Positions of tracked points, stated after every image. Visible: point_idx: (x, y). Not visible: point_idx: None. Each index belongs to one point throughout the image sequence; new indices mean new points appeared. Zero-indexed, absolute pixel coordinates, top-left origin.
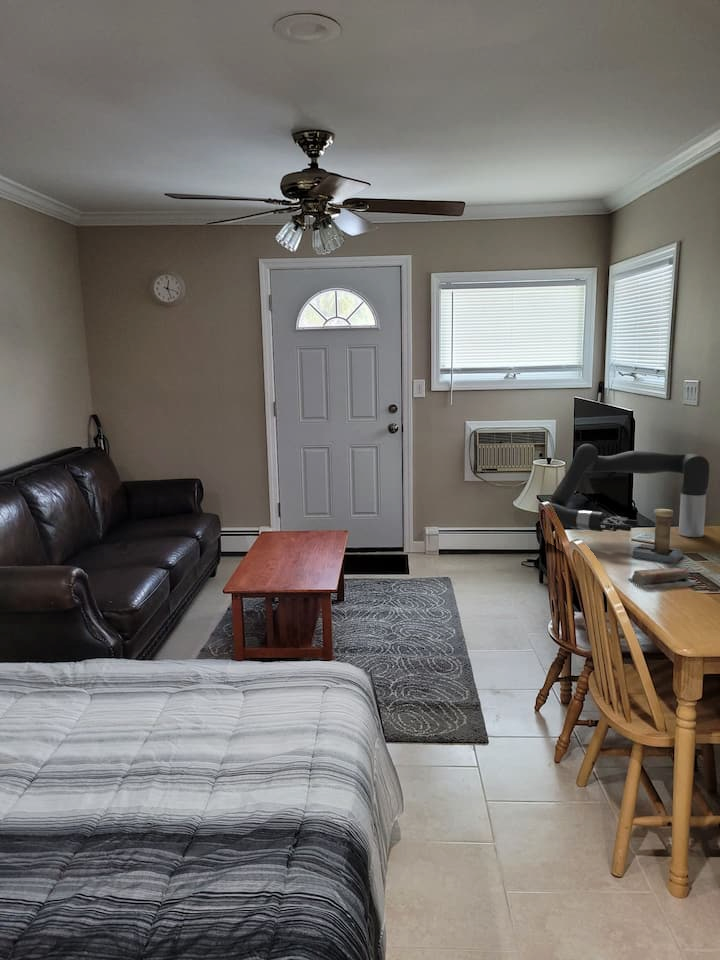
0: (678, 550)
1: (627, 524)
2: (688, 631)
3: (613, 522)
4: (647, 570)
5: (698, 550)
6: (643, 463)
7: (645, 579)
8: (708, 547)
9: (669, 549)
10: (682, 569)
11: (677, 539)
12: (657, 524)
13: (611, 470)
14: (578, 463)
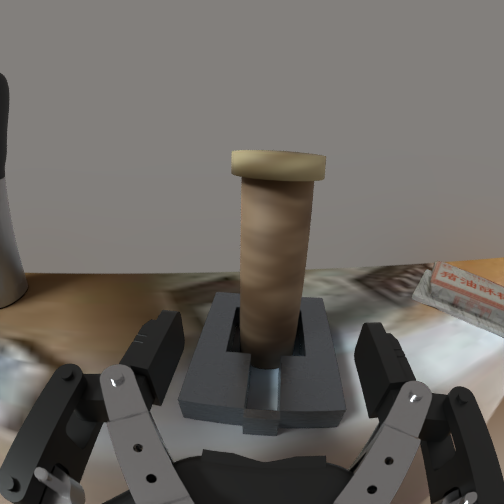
0: (234, 298)
1: (159, 399)
2: None
3: (414, 448)
4: (500, 294)
5: (139, 288)
6: None
7: None
8: (108, 276)
9: (233, 315)
10: (440, 263)
11: (31, 316)
12: (306, 227)
13: None
14: None
